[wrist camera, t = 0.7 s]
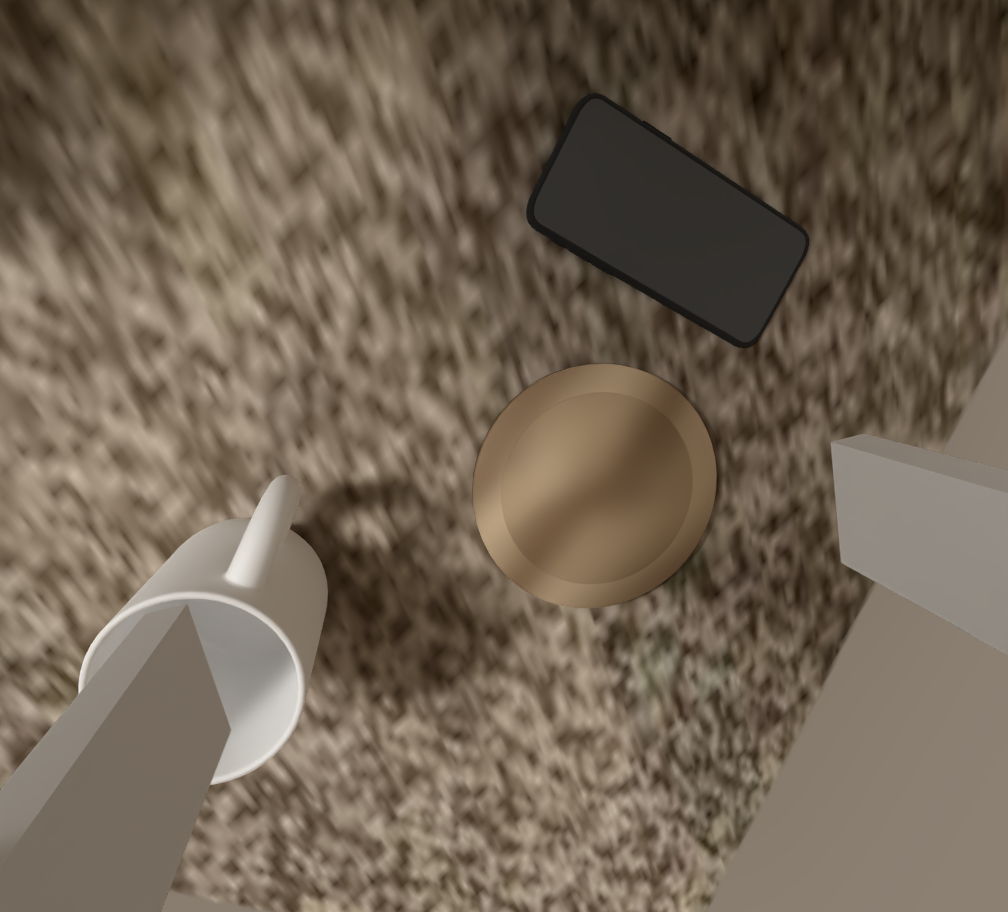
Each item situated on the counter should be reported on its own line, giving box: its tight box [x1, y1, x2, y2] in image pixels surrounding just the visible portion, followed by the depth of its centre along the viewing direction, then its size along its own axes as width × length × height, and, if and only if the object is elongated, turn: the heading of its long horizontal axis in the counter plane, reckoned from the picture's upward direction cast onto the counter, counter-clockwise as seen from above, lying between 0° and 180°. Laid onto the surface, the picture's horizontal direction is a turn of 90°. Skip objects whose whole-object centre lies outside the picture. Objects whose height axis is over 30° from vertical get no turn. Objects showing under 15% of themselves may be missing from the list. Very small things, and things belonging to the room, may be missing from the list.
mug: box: [79, 475, 328, 785], centre depth 30 cm, size 12×8×10 cm
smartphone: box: [526, 93, 809, 348], centre depth 35 cm, size 7×1×15 cm
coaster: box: [472, 363, 717, 608], centre depth 37 cm, size 14×14×1 cm
